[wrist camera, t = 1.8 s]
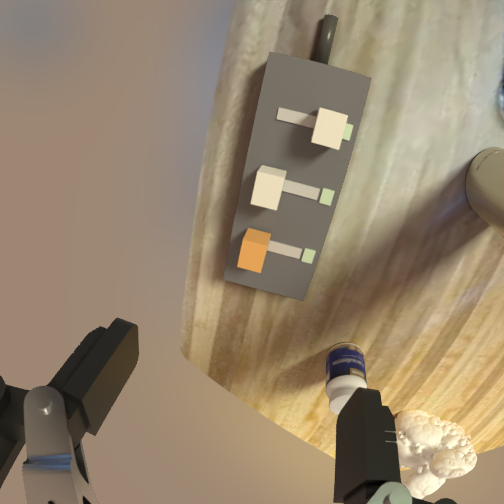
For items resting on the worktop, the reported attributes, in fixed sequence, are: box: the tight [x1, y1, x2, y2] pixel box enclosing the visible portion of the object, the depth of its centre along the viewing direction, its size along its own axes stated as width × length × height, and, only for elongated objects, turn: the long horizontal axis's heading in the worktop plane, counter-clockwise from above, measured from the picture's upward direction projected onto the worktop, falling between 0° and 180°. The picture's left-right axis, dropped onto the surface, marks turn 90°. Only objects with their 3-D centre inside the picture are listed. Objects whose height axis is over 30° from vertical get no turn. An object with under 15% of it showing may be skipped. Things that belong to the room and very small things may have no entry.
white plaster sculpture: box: [395, 410, 477, 499], centre depth 47 cm, size 19×20×20 cm
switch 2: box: [237, 228, 271, 273], centre depth 34 cm, size 2×3×3 cm
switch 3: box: [311, 107, 348, 150], centre depth 27 cm, size 2×3×3 cm
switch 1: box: [251, 165, 287, 211], centre depth 30 cm, size 2×3×3 cm
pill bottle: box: [326, 342, 367, 415], centre depth 41 cm, size 6×6×10 cm
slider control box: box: [223, 15, 371, 301], centre depth 32 cm, size 32×10×4 cm, turn 168°
